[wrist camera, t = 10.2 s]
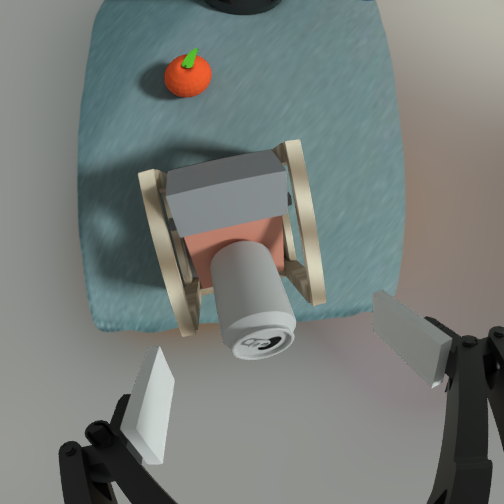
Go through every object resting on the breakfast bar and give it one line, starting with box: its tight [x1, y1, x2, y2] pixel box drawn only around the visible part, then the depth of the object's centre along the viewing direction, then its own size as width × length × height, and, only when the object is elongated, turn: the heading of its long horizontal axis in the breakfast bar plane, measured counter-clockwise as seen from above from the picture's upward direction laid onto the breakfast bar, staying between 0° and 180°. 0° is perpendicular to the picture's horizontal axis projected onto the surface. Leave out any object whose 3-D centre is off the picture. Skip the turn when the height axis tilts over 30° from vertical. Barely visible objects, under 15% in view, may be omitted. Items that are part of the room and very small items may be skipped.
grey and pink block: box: [166, 149, 292, 289], centre depth 31 cm, size 16×13×5 cm
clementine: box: [165, 48, 212, 97], centre depth 34 cm, size 8×7×7 cm
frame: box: [138, 139, 326, 337], centre depth 35 cm, size 18×17×15 cm
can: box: [210, 241, 296, 360], centre depth 30 cm, size 8×8×12 cm
